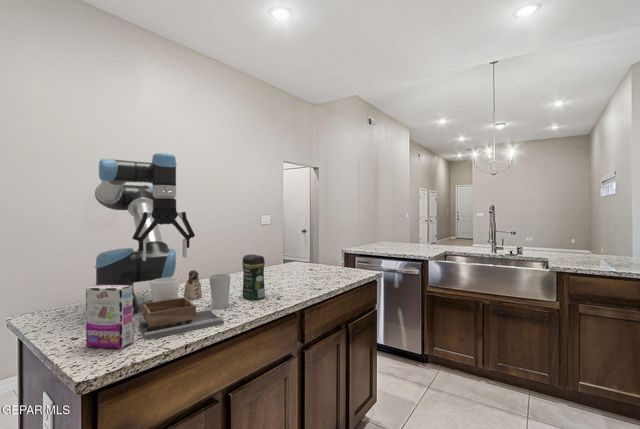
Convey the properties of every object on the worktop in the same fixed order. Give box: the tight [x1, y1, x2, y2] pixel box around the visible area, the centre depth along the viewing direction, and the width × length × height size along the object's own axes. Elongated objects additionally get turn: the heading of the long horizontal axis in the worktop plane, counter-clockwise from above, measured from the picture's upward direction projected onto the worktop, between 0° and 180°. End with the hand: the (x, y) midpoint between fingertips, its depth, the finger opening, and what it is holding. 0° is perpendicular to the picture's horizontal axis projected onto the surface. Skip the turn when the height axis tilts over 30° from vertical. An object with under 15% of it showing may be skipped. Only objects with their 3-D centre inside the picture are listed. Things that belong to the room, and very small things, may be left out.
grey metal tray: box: [138, 308, 225, 341], centre depth 107 cm, size 14×23×2 cm, turn 126°
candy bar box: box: [85, 284, 135, 350], centre depth 91 cm, size 11×5×16 cm, turn 81°
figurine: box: [183, 269, 203, 301], centre depth 142 cm, size 7×7×12 cm
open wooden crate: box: [142, 297, 197, 330], centre depth 105 cm, size 13×13×5 cm
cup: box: [208, 273, 231, 310], centre depth 128 cm, size 8×8×12 cm
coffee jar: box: [241, 254, 266, 301], centre depth 141 cm, size 10×8×19 cm
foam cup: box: [149, 277, 181, 302], centre depth 116 cm, size 10×9×13 cm
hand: (165, 258), depth 115 cm, fingers open, 12 cm apart
